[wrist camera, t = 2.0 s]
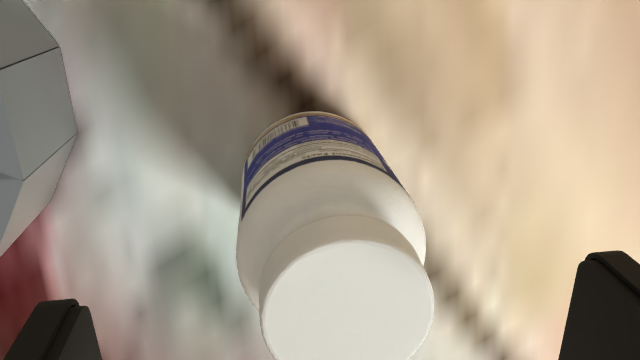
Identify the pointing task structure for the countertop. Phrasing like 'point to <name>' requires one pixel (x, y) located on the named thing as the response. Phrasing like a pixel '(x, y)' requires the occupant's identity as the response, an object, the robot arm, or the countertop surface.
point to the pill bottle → (331, 245)
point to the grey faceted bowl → (30, 119)
